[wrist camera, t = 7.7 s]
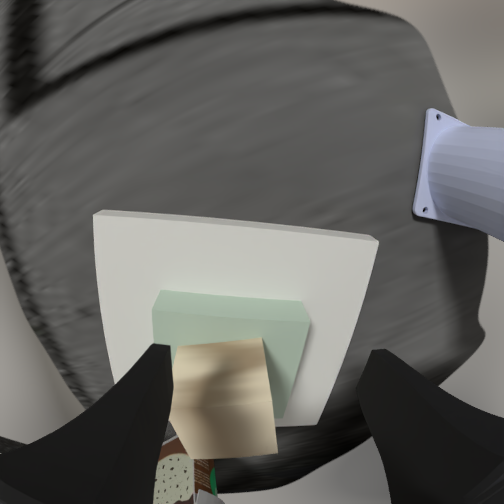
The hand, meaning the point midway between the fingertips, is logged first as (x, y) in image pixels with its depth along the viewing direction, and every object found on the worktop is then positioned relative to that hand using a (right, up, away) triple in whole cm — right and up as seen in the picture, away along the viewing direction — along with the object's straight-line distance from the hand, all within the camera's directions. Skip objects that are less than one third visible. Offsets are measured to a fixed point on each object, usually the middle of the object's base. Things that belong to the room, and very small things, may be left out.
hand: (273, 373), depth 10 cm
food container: (-8, -18, +17) cm, 26 cm away
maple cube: (-2, -3, +8) cm, 9 cm away
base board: (-3, -2, +12) cm, 12 cm away
